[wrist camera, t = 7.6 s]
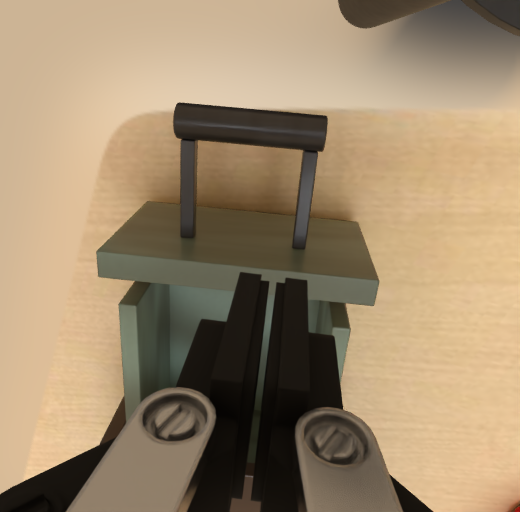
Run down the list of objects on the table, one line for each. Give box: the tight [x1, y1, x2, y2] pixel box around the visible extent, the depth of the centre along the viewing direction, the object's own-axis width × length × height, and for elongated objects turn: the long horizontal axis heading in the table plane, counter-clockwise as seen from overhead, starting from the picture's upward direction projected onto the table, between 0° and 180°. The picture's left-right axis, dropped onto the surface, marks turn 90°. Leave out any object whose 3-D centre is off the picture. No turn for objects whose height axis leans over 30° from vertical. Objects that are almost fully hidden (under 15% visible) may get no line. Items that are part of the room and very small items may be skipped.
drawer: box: [96, 103, 379, 463], centre depth 22 cm, size 19×11×7 cm, turn 176°
